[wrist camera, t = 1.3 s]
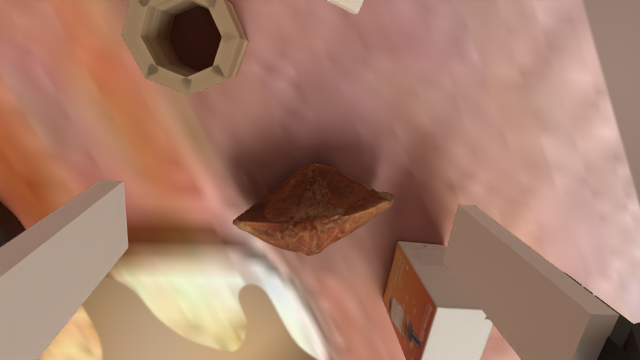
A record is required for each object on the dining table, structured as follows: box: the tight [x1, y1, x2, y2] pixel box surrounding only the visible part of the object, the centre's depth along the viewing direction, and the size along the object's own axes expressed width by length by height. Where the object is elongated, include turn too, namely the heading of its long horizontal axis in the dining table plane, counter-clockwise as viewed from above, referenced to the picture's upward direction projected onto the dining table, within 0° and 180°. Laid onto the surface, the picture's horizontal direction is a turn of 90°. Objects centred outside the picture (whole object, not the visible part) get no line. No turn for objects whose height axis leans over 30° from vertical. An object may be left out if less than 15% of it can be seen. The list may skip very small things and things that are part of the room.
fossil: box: [233, 163, 394, 256], centre depth 31 cm, size 13×8×10 cm
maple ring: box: [122, 0, 248, 95], centre depth 26 cm, size 7×7×6 cm
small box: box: [383, 241, 493, 360], centre depth 34 cm, size 8×6×10 cm
